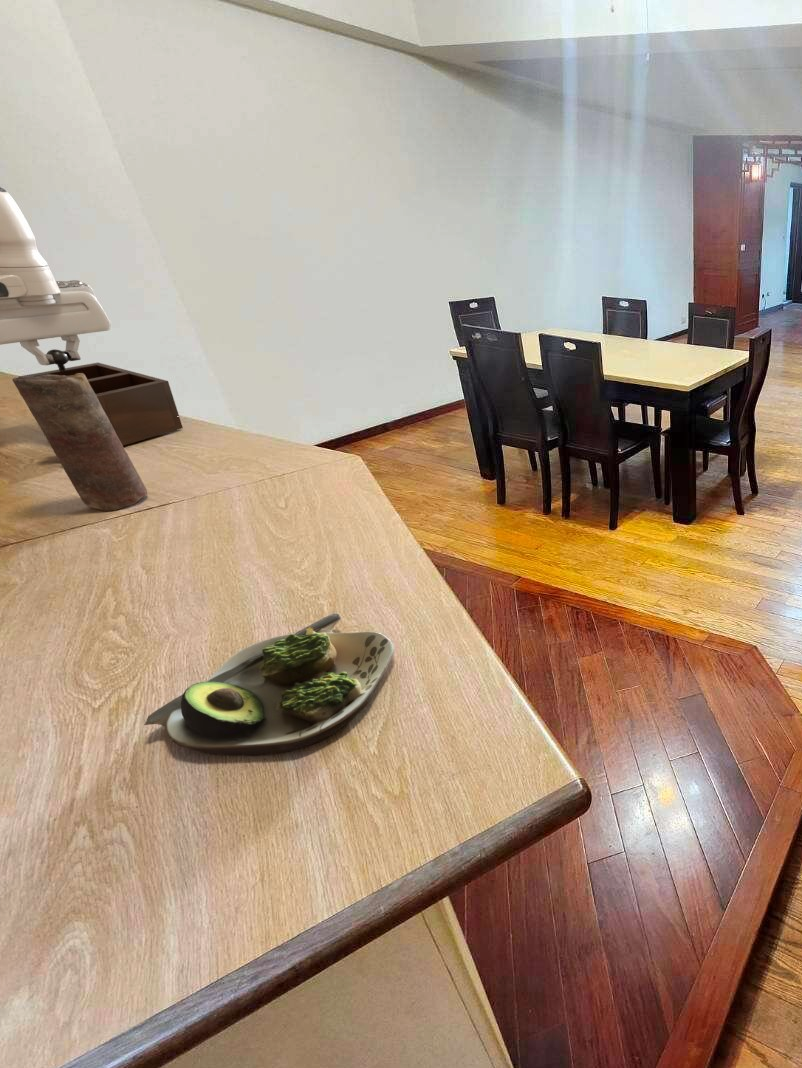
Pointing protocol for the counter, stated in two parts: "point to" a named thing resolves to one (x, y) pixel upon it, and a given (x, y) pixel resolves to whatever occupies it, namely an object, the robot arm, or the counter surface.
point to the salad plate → (280, 693)
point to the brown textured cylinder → (82, 439)
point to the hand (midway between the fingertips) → (60, 362)
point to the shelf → (126, 398)
